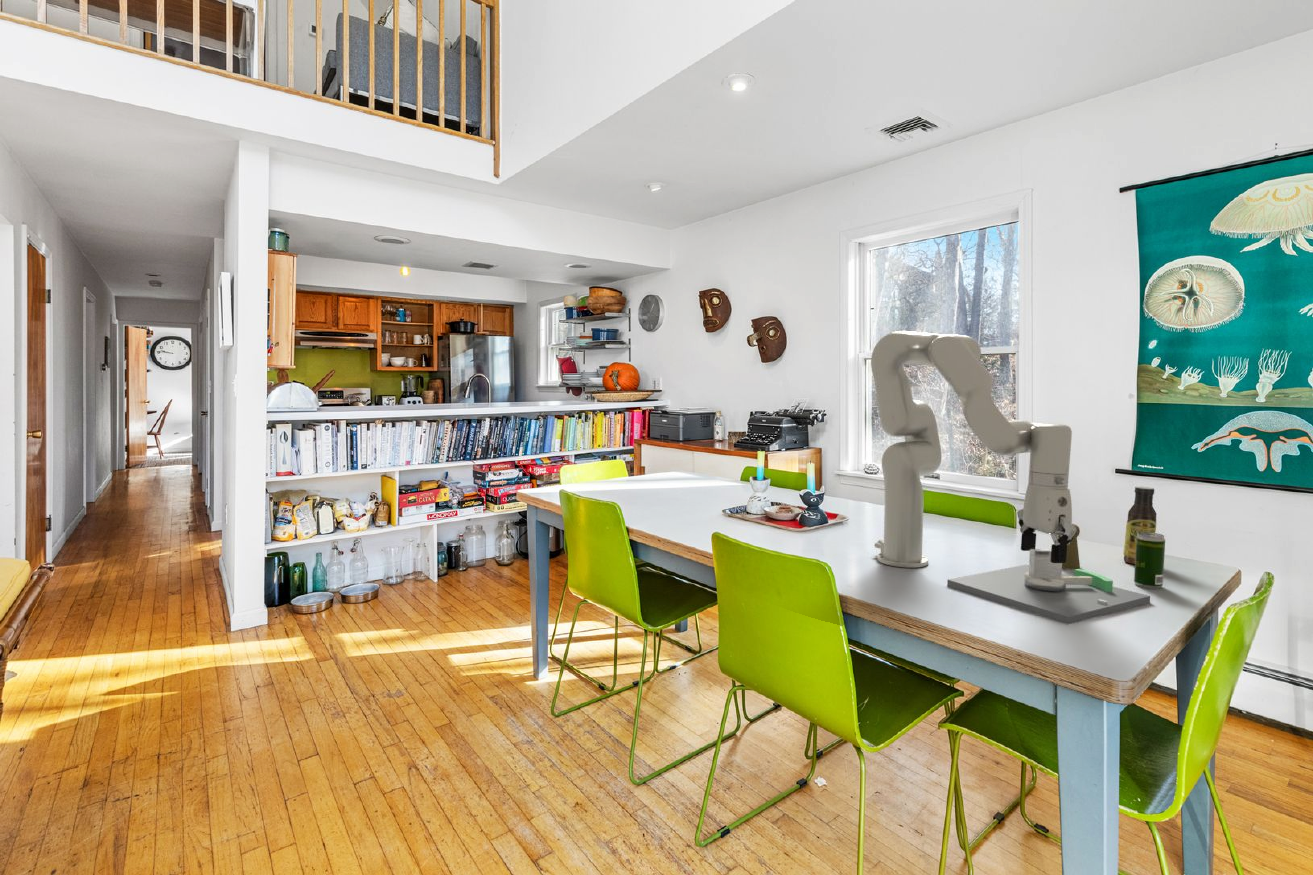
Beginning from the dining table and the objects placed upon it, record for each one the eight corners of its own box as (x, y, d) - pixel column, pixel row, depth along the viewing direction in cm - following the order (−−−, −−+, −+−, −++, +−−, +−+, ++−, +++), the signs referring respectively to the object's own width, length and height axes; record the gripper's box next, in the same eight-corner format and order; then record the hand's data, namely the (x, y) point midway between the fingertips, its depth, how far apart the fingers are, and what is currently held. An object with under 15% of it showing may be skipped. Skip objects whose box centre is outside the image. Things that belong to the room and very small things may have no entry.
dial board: (947, 585, 154) (947, 569, 154) (1025, 570, 166) (1026, 555, 166) (1068, 624, 129) (1069, 604, 129) (1149, 602, 141) (1150, 584, 141)
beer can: (1167, 587, 152) (1170, 535, 151) (1154, 590, 150) (1157, 538, 149) (1142, 581, 157) (1144, 530, 156) (1128, 584, 155) (1131, 533, 154)
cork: (1084, 569, 167) (1086, 526, 166) (1057, 568, 168) (1059, 525, 167) (1074, 563, 173) (1076, 521, 172) (1048, 562, 174) (1050, 520, 173)
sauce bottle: (1126, 565, 171) (1130, 488, 169) (1120, 559, 177) (1124, 485, 175) (1157, 567, 168) (1161, 489, 167) (1149, 561, 174) (1154, 486, 173)
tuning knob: (1035, 591, 144) (1037, 554, 143) (1017, 580, 152) (1018, 545, 151) (1102, 591, 143) (1103, 554, 142) (1079, 580, 151) (1081, 545, 150)
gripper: (1093, 486, 138) (1087, 567, 139) (1037, 473, 155) (1032, 545, 156) (1060, 487, 137) (1054, 568, 138) (1007, 474, 154) (1002, 546, 156)
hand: (1042, 556), depth 147 cm, fingers open, 9 cm apart
